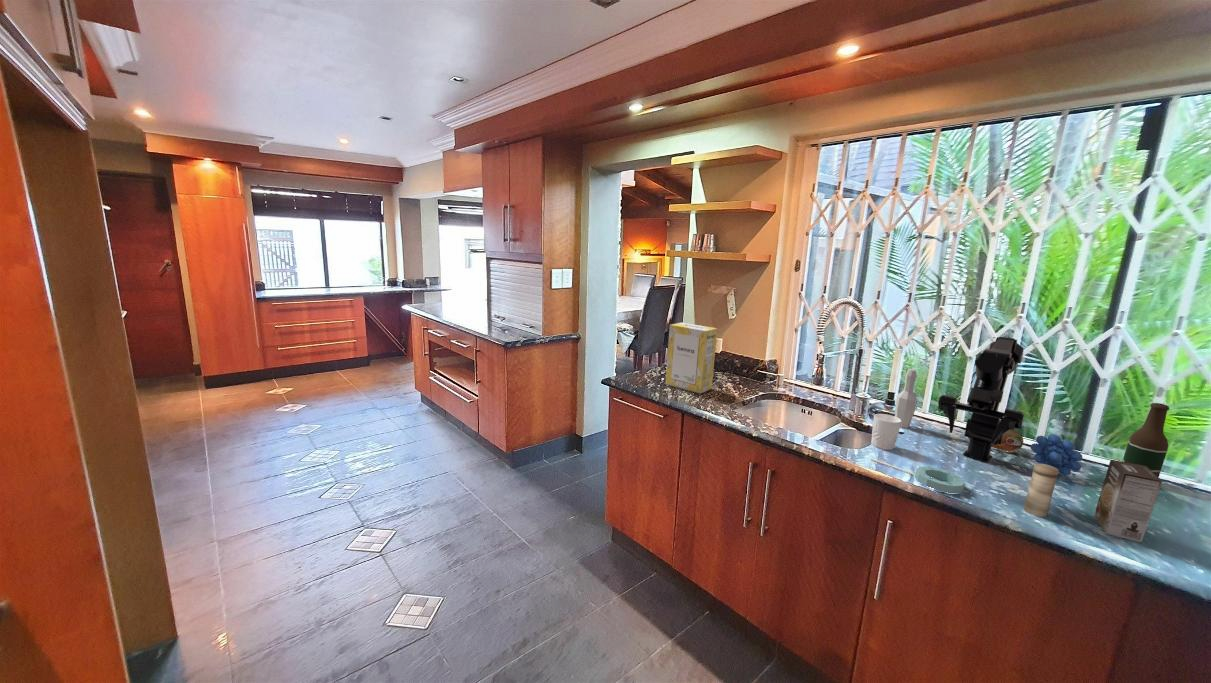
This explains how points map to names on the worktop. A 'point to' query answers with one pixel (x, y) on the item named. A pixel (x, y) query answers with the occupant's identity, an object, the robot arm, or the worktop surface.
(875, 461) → the thin beige stick
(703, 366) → the pasta box
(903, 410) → the faceted bottle
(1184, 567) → the worktop surface
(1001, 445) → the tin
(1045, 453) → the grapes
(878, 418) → the white cup
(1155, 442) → the beer bottle
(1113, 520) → the coffee box
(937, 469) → the green ring
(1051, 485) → the wooden pepper mill
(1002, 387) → the robot arm
